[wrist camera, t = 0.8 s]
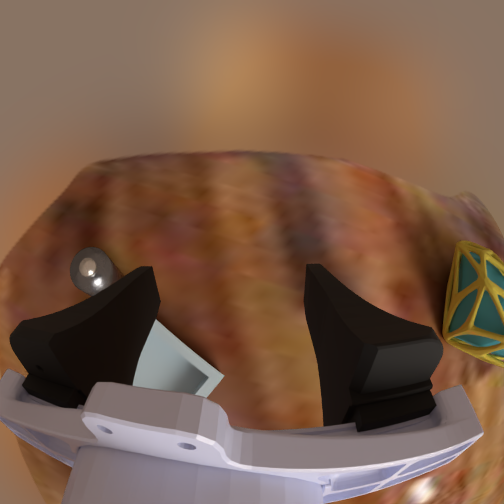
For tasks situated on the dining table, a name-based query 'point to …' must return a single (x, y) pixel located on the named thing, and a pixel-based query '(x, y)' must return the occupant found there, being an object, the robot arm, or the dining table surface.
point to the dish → (173, 365)
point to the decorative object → (476, 303)
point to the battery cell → (93, 271)
